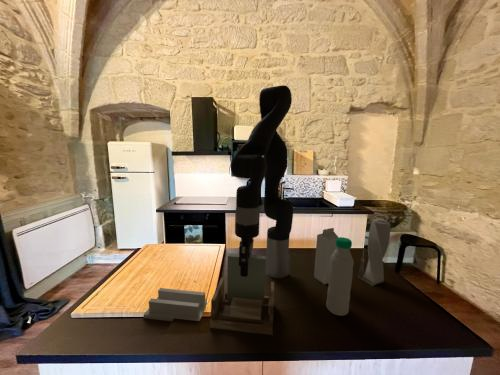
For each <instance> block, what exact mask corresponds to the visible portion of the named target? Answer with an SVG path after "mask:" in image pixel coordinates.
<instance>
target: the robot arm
mask: <svg viewBox="0 0 500 375" xmlns="http://www.w3.org/2000/svg"><path fill="white" fill-rule="evenodd" d="M258 98H259V99H258V102H259V113H260V120H259V121H258V122H257V123H256V124H255V126H254V127H253V128H252V130H251V132H250V135H248V136H249V137H248V139H247V140H246V142H245V143H244V144H243V145H242V146H241V147H240V148H239V150H237V151H236V153H235V154H234V156H233V157H232V160H231V163H230V171H231V173H232V175H233V176H234V177H236V178H239V179H240V178H241V179H250V182H249V184H248V185H241V186H238V187H237V189H236V192H235V194H236V197H235V198H236V200H235V201H236V202H235V204H236V205H235V212H234V215H235V216H234V217H235V218H234V234H235V235H236V236H237V238H240V241H239V247H238V251H239V252H238V254H239V266H241V267H240V275H241V276H242V277H247V276H248V264H249V263H248V262H249V258H250V257H251V255H252V251H253V249H254V242H255V241H254V238H257V237H258V236H260V215H261V214H260V213H261V212H260V193H261V189H262V186H263V181H264V196H263V210H264V215H265V216H266V217H267V218H268V219H270V220H273V221H275V225H274V226H271V227H269V228H268V229H267V232H266V255H265V256H266V266H265V276H269V277H270V278H273V279H282V278H283V279H284V278H287V277H288V276H289V275H290V266H291V265H290V264H291V262H290V261H291V253H290V250H289V248H290V235H291V232H292V228H293V219H294V205H293V203H292V202H291V201H290V200H288V199H285V198H281V197H280V194H279V193H280V191H279V190H280V183H281V182H282V179H283V177H284V175H285V173H286V170H287V169H288V148H287V146H286V144H285V142H284V140H283V139H282V137H281V136H280V135H279V132H278V128H279V126H280V125H281V123H282V122H283V121H284V119H285V117H286V115H287V114H288V113H289V111H290V109H291V106H292V103H293V102H292V100H293V98H292V92H291V89H290V88H289V86H287V85H276V86H271V87H265V88H263V89H261V91H260V92H259V97H258ZM242 259H246V261H242Z"/></svg>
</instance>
